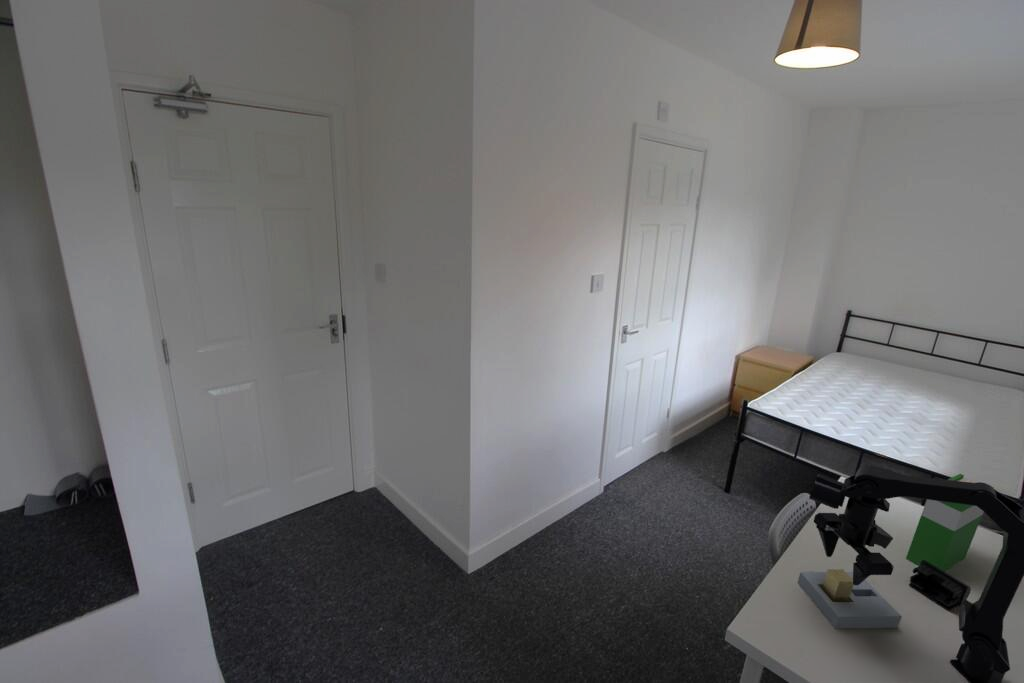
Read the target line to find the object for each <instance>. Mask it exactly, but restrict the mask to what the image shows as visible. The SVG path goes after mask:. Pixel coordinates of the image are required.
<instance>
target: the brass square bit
mask: <svg viewBox="0 0 1024 683" xmlns="http://www.w3.org/2000/svg"><path fill="white" fill-rule="evenodd" d="M826 572H827V573H826V577H825V580H824V583H823V587H822V590H823V591H824V593H825V594H826V595H827V596H828V597H829V598H830V600H831V601H832V602H848V601H849V598H850V594H851V591H852V588H853V585H854V584H853V579H852V578H851V577H850V576H849V575H848V574H847V573H846V572H847V571H845V570H844V569H841V568H840V569H838V568H837V569H836V568H835V569H833V568H832V569H830V568H829V569H827V570H826Z"/></svg>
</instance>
